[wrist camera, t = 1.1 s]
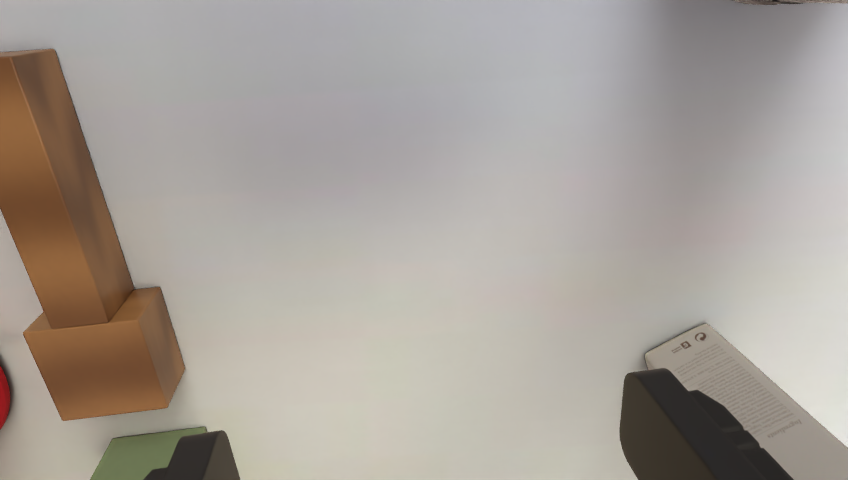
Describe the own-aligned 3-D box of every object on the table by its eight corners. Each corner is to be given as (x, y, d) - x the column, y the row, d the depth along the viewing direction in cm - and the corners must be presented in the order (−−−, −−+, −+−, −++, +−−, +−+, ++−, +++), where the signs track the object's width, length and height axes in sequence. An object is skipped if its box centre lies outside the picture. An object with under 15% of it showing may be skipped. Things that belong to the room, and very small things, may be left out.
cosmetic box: (638, 354, 31) (793, 547, 20) (709, 317, 31) (906, 494, 20) (671, 419, 34) (824, 622, 23) (736, 386, 33) (925, 577, 22)
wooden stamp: (-42, 55, 21) (-102, 63, 18) (86, 46, 21) (47, 53, 18) (90, 380, 27) (61, 422, 25) (186, 368, 28) (167, 408, 25)
